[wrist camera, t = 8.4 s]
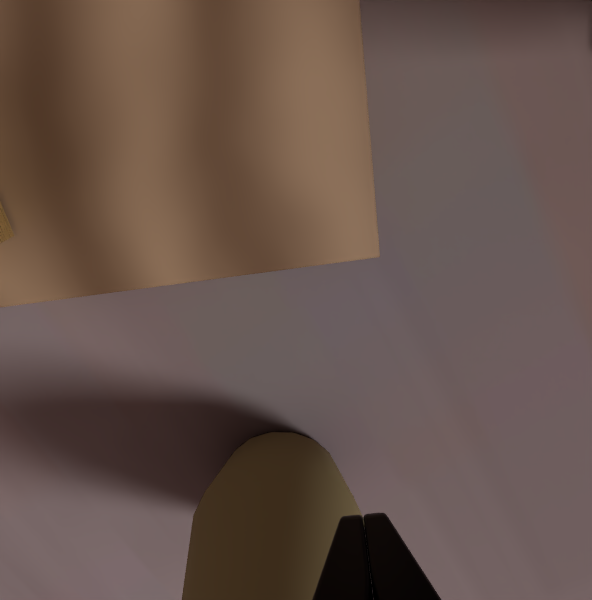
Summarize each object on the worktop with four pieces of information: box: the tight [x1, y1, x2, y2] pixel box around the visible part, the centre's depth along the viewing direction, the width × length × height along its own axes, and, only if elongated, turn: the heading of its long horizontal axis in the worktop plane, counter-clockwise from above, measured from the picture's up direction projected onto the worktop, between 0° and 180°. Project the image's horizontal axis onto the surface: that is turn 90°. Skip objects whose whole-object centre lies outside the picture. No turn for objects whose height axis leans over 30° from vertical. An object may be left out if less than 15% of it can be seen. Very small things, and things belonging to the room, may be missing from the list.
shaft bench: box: [0, 0, 380, 307], centre depth 14 cm, size 22×12×10 cm, turn 99°
